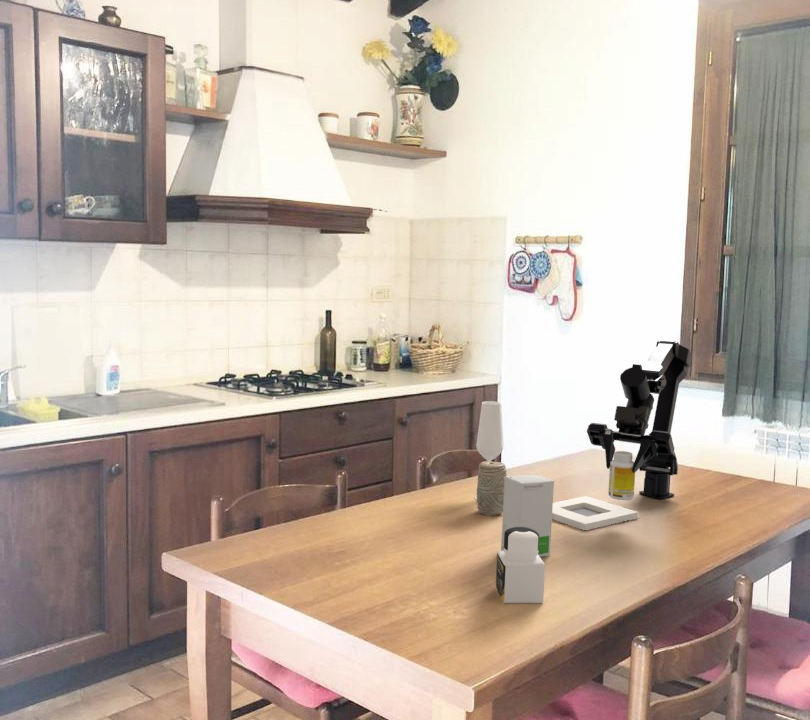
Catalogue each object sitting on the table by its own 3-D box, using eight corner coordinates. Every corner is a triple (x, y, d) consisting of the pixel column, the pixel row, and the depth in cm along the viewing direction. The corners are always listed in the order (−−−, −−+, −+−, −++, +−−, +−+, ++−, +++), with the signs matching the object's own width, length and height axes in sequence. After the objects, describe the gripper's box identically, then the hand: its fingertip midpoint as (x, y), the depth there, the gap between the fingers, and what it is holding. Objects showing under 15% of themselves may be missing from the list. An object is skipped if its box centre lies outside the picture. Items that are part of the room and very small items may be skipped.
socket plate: (585, 502, 217) (586, 496, 217) (637, 518, 204) (638, 512, 204) (533, 512, 206) (533, 506, 206) (584, 530, 194) (585, 524, 193)
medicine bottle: (495, 588, 158) (497, 523, 157) (534, 588, 158) (537, 523, 157) (502, 604, 151) (505, 536, 149) (543, 603, 151) (547, 536, 150)
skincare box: (517, 561, 173) (521, 483, 171) (498, 551, 178) (502, 476, 177) (552, 555, 176) (555, 480, 175) (532, 545, 182) (536, 472, 181)
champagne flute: (505, 497, 219) (510, 402, 216) (493, 503, 213) (497, 406, 211) (481, 493, 222) (485, 399, 220) (469, 498, 217) (473, 402, 214)
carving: (469, 513, 205) (471, 462, 203) (489, 507, 210) (491, 458, 209) (491, 519, 200) (493, 467, 199) (511, 513, 206) (513, 462, 204)
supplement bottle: (638, 499, 196) (641, 455, 195) (618, 502, 194) (620, 456, 193) (623, 493, 201) (626, 449, 200) (603, 495, 199) (605, 451, 198)
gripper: (591, 388, 203) (572, 443, 195) (673, 396, 193) (657, 455, 185) (600, 416, 210) (583, 471, 202) (679, 425, 201) (664, 483, 193)
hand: (620, 469), depth 196 cm, fingers closed on supplement bottle, 5 cm apart
